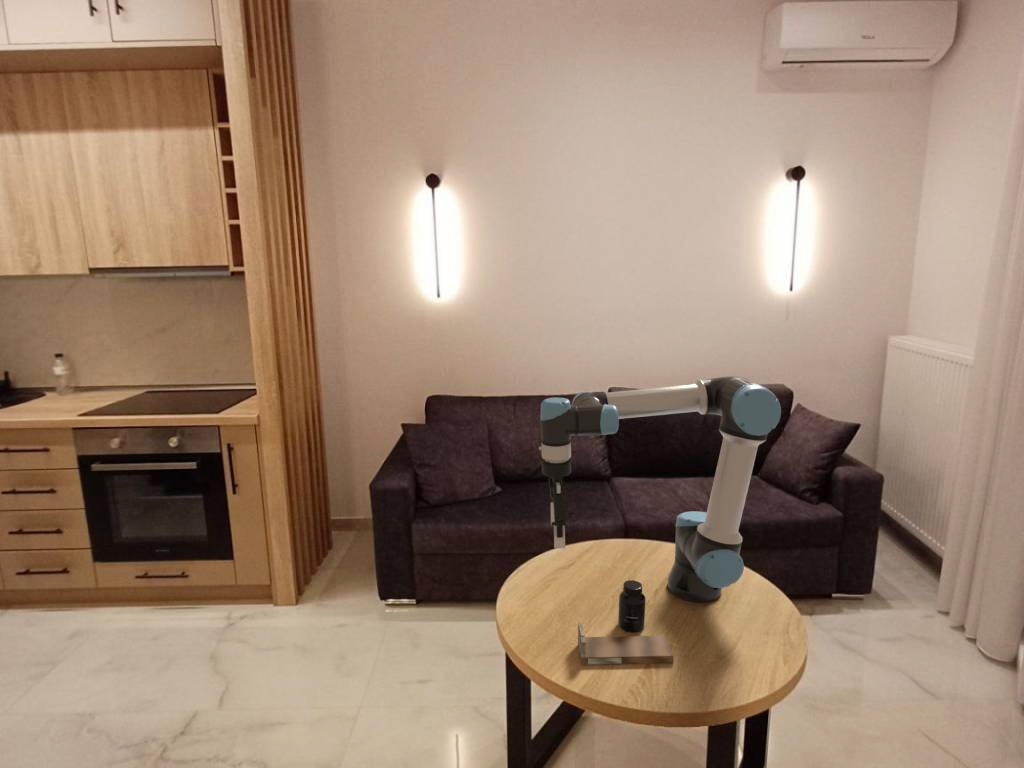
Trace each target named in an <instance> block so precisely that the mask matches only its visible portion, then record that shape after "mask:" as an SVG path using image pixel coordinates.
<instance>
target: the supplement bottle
mask: <svg viewBox="0 0 1024 768" xmlns="http://www.w3.org/2000/svg"><path fill="white" fill-rule="evenodd" d="M645 616H646V596H645V594H644V593H643V584H642V583H641V582H640V581H637V580H633V579H632V580H629V579H628V580H626V581H624V583H623V588H622V591H621V592H620V593H619V597H618V617H617V620H618V621H617V623H618V627H619V628H620V629H621V630H622V631H625V632H626V633H631V634H632V633H638V632H641V631H642V630H644V628H645V619H646V618H645Z"/></svg>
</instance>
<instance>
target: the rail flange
mask: <svg viewBox="0 0 1024 768" xmlns="http://www.w3.org/2000/svg"><path fill="white" fill-rule="evenodd" d="M583 626H584V625H583V622H578V623H577V647H578V653H579V657H580V663H581V665H582V666H586V665H588V666H590V665H591V666H592V665H593V666H594V665H601V666H602V665H631V664H632V665H642V664H643V665H644V664H645V665H650V664H673V663H674V654H673V651H672V648H671V646H670V644H669V642H668V640H667V637H666V635H635V636H634V635H632V636H630V635H629V636H626V635H625V636H623V635H621V636H586V635H585V631H584V627H583Z"/></svg>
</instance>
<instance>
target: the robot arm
mask: <svg viewBox="0 0 1024 768" xmlns="http://www.w3.org/2000/svg"><path fill="white" fill-rule="evenodd" d="M693 412H694V413H695V412H696V413H697V412H698V413H699V414H700V415H716V416H721V418H720V422H719V427H718V431H719V432H720V434H721V435H722V437H723V438H722V443H721V447H720V452H719V456H718V460H717V465H716V469H715V472H714V473H715V474H714V479H713V484H712V488H711V492H710V496H709V501H708V505H707V510H706V511H697V510H695V511H693V510H692V511H684V512H682V513H680V514H678V515H677V516H676V523H675V541H674V542H675V546H674V548H675V549H674V550H675V551H674V563H673V565H672V567H671V570H670V572H669V573H668V574H669V575H668V578H667V588H668V590H669V591H670V592H671V594H673V595H675V597H678V598H680V599H683V600H686V601H687V602H688V601H689V602H695V603H707V602H708V603H709V602H712V601H715V600H717V599H718V598H719V597H721V595H722V589H724V588H728V587H730V586H731V585H733V584H735V583H737V582H738V581H739V580H740V579H741V577H742V575H743V573H744V570H745V565H744V561H743V558H742V556H741V555H740V553H741V549H742V543H743V536H742V535H741V533H740V532H739V529H740V525H741V520H742V516H743V512H744V507H745V503H746V499H747V494H748V491H749V487H750V481H751V479H752V478H751V477H752V474H753V469H754V466H755V461H756V457H757V452H758V447H759V446H760V445H761V444H763V443H765V442H766V441H767V439H768V435H769V433H771V431H772V430H774V429H775V428H776V427H777V425H778V424H779V423H780V419H781V417H782V415H781V414H782V407H781V404H780V400H779V399H778V398H777V396H776V395H775V394H774V393H773V392H772V391H771V390H769V389H768V387H766V386H764V385H761V384H760V383H757V382H754V381H751V380H750V379H748V378H746V377H742V376H735V375H734V376H730V375H729V376H722V377H714V378H713V377H712V378H705V379H704V378H703V379H702V378H701V379H698V380H696V381H695V382H694V383H693V384H692V383H690V384H680V385H670V386H661V387H659V386H658V387H650V388H641V389H631V390H621V391H611V392H609V391H608V392H601V393H600V392H598V393H592V392H590V391H581V392H578V393H577V394H576V395H574V397H573V399H572V402H570V400H569V399H568V398H565V397H548V398H546V399H543V401H541V403H540V416H539V418H540V442H541V446H538V449H539V451H541V458H542V459H541V472H542V475H544V476H546V477H548V485H549V492H550V493H549V495H550V498H549V500H550V526H553V547H554V550H555V549H566V524H567V523H566V518H565V517H566V515H565V514H566V513H565V511H566V510H565V496H566V495H565V488H566V481H565V478H564V477H567V476H569V475H570V474H571V473H572V459H571V457H572V441H571V438H572V437H573V436H575V437H577V436H578V437H579V436H606V435H607V436H608V435H614V434H617V432H618V430H619V427H620V425H619V424H620V419H631V418H633V419H634V418H641V417H642V418H643V417H653V416H665V415H673V414H674V415H675V414H684V413H693Z"/></svg>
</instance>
